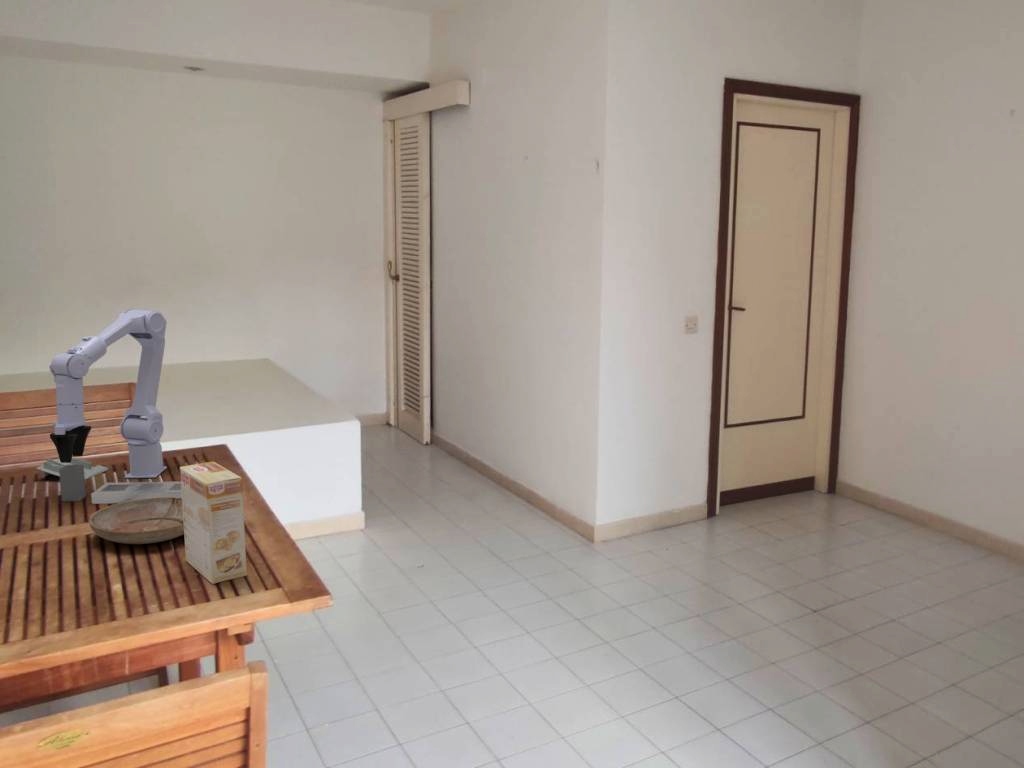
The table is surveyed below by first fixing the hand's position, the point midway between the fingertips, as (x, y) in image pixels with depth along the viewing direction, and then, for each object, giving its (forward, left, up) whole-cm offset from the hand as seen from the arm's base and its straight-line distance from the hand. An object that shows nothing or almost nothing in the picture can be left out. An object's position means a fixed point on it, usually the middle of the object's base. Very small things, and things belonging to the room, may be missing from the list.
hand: (71, 459), depth 203 cm
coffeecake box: (+46, +46, -10) cm, 65 cm away
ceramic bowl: (+26, +27, -10) cm, 38 cm away
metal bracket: (-20, -10, -11) cm, 25 cm away
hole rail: (0, +18, -10) cm, 20 cm away
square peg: (0, 0, -10) cm, 10 cm away
